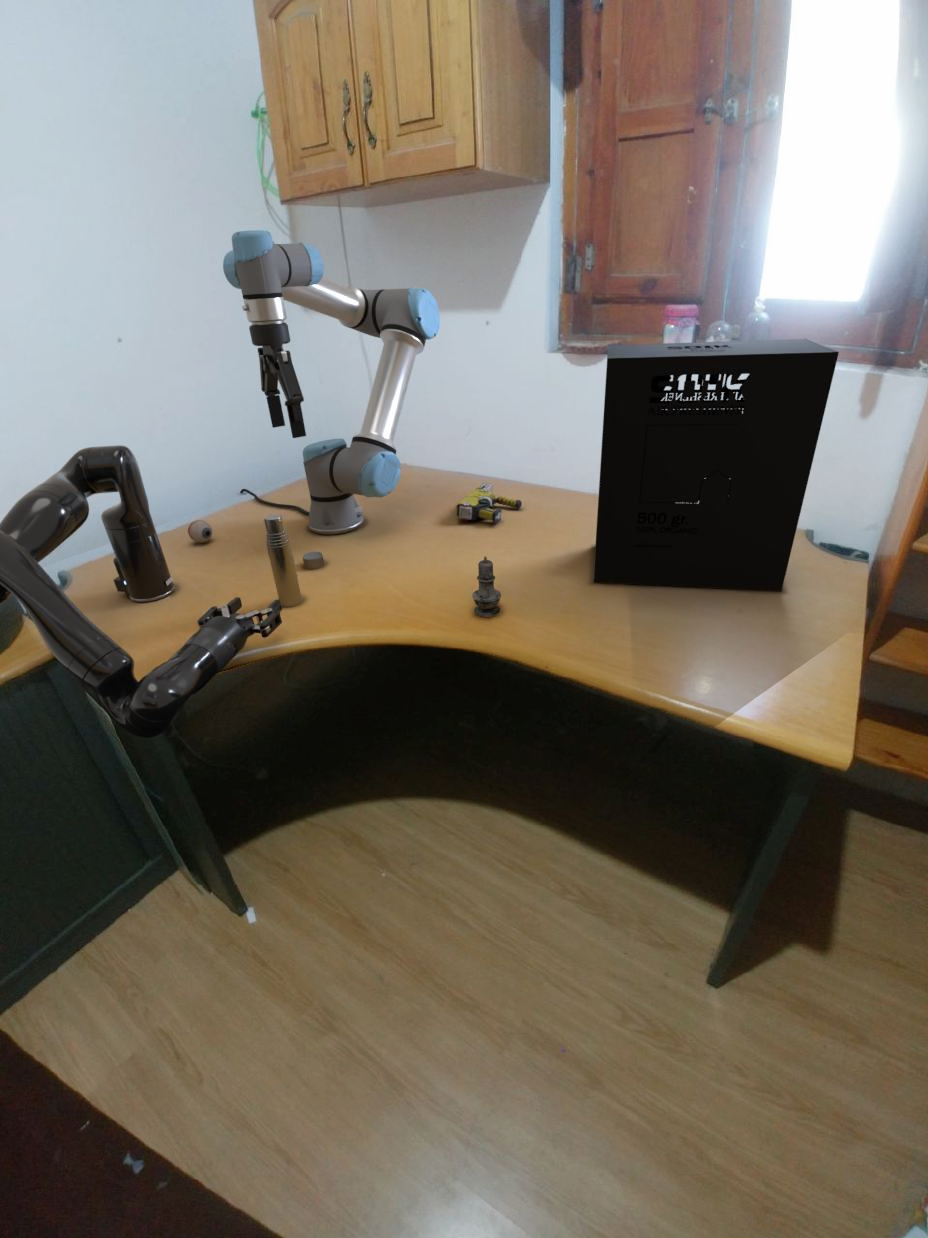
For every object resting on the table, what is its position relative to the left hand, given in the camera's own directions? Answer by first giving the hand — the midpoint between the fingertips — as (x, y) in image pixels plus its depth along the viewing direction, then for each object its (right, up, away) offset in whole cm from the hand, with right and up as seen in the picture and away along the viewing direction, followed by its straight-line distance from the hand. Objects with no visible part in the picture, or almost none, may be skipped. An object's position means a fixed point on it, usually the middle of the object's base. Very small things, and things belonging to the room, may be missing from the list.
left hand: (259, 602), depth 118 cm
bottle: (+3, +1, +12) cm, 13 cm away
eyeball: (-30, +18, +45) cm, 57 cm away
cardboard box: (+89, +8, +17) cm, 91 cm away
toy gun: (+49, +28, +55) cm, 79 cm away
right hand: (+2, +37, +13) cm, 40 cm away
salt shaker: (+45, -2, +4) cm, 45 cm away
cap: (+4, +12, +27) cm, 30 cm away
